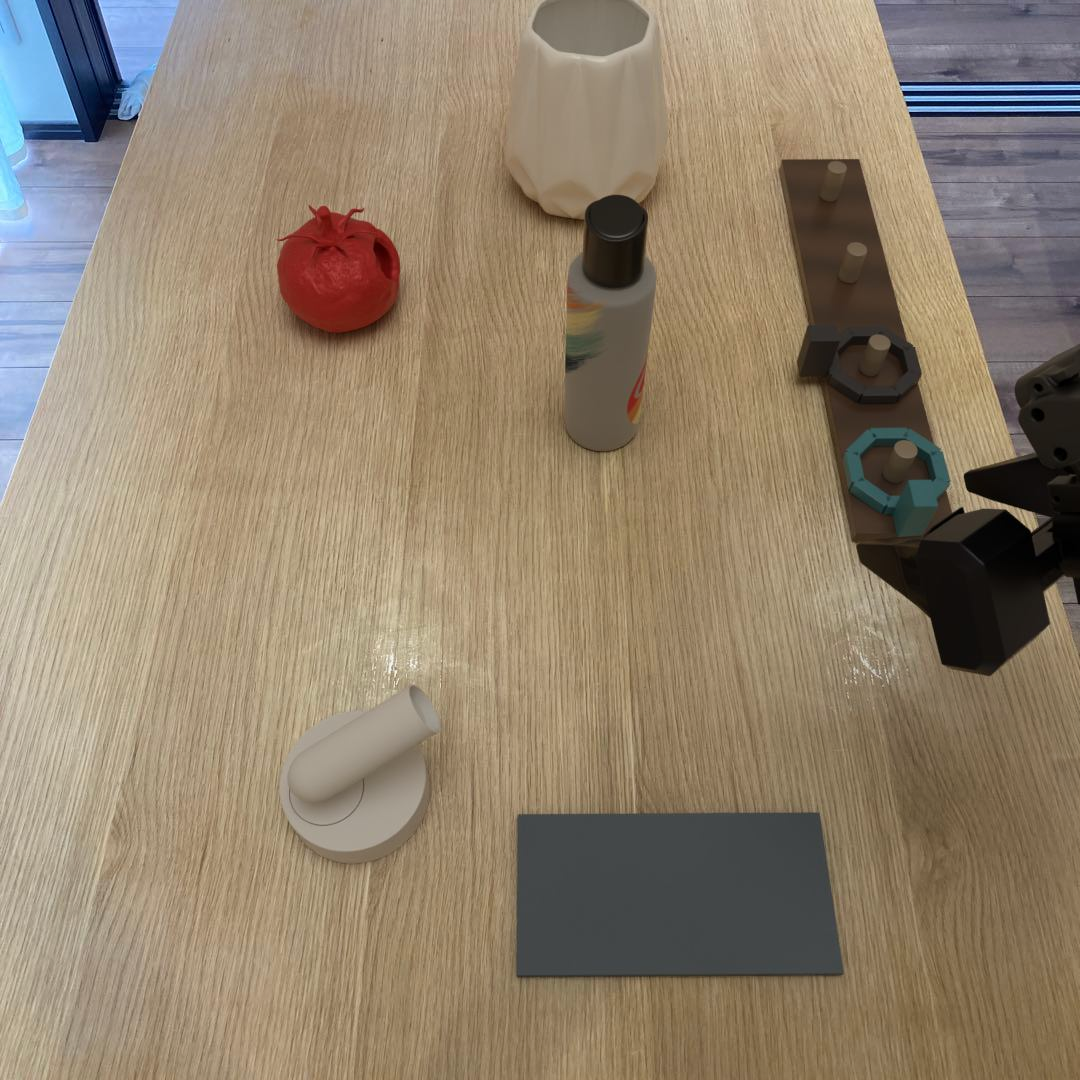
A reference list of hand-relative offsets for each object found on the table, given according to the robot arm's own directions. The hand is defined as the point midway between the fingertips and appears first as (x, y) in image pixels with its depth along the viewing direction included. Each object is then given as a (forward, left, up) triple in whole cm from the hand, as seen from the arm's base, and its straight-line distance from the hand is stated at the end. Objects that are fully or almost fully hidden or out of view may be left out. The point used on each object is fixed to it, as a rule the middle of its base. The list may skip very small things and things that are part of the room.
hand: (915, 515), depth 54 cm
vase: (+34, -36, -16) cm, 52 cm away
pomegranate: (+46, -14, -16) cm, 51 cm away
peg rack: (+7, -28, -16) cm, 33 cm away
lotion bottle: (+22, -11, -16) cm, 29 cm away
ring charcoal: (+5, -24, -15) cm, 29 cm away
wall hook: (+24, +21, -16) cm, 36 cm away
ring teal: (0, -15, -15) cm, 21 cm away
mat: (+5, +19, -16) cm, 25 cm away
